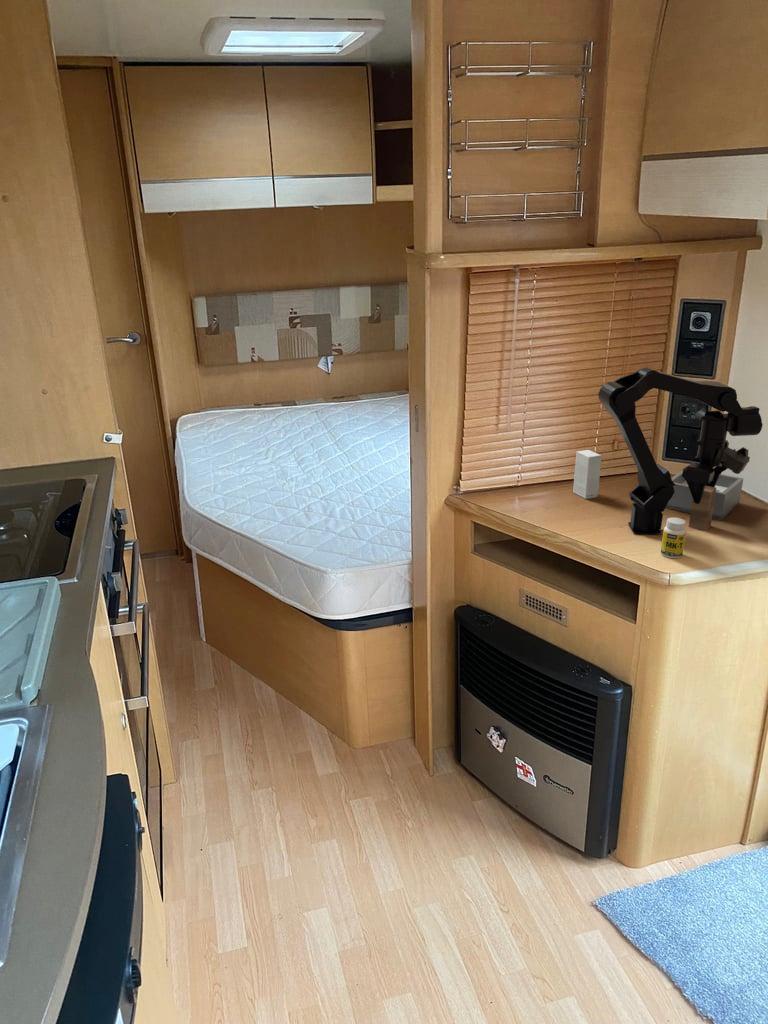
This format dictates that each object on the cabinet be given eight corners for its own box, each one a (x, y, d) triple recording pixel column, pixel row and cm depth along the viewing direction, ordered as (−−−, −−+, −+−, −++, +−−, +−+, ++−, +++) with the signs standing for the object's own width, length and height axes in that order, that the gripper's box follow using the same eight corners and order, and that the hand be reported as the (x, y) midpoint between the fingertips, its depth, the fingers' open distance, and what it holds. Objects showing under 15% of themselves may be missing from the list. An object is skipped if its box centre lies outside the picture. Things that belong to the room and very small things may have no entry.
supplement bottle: (662, 558, 176) (666, 524, 173) (658, 549, 180) (663, 516, 177) (684, 559, 175) (689, 525, 172) (680, 550, 179) (685, 517, 176)
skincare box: (598, 497, 212) (602, 455, 207) (585, 499, 210) (589, 457, 206) (585, 490, 217) (588, 449, 213) (572, 492, 216) (575, 451, 211)
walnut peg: (705, 530, 190) (710, 492, 186) (688, 526, 192) (694, 488, 189) (710, 525, 193) (716, 487, 189) (694, 521, 195) (699, 484, 191)
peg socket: (720, 520, 196) (725, 494, 193) (662, 507, 205) (665, 481, 202) (739, 503, 206) (743, 478, 204) (682, 491, 215) (686, 467, 213)
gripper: (736, 452, 172) (725, 517, 178) (760, 433, 186) (749, 494, 192) (686, 443, 179) (676, 506, 185) (712, 426, 192) (703, 485, 198)
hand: (703, 498), depth 190 cm, fingers open, 9 cm apart
